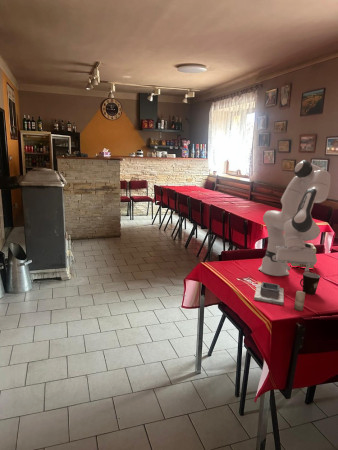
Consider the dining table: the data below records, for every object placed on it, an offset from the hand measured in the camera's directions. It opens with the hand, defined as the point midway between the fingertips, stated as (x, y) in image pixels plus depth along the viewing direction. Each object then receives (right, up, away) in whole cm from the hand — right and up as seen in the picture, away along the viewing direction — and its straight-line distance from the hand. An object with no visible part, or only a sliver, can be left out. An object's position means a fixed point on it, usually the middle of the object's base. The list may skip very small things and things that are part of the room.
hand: (297, 270), depth 170 cm
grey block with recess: (-13, -14, +6) cm, 20 cm away
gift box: (+24, -5, +60) cm, 65 cm away
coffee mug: (+9, -14, +13) cm, 21 cm away
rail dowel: (-3, -17, -9) cm, 20 cm away
